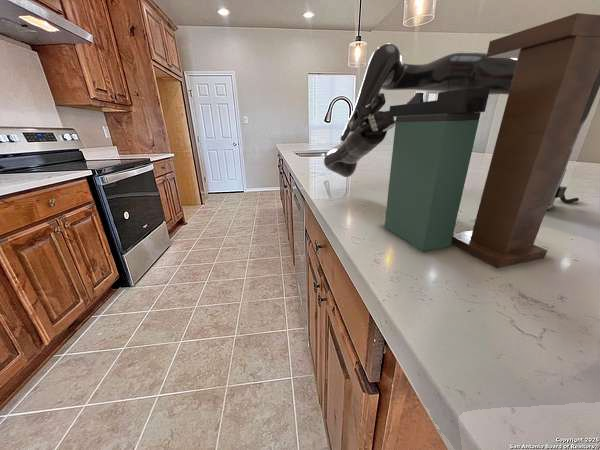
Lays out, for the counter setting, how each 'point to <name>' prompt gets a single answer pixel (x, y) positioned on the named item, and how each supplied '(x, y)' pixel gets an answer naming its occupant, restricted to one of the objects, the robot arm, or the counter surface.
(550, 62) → the shelf stand
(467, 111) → the pad strip
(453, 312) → the counter surface
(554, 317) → the counter surface
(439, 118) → the dark green tall block
